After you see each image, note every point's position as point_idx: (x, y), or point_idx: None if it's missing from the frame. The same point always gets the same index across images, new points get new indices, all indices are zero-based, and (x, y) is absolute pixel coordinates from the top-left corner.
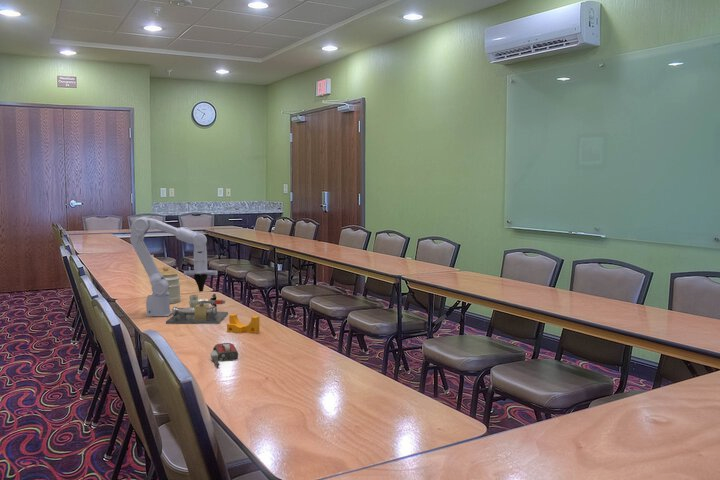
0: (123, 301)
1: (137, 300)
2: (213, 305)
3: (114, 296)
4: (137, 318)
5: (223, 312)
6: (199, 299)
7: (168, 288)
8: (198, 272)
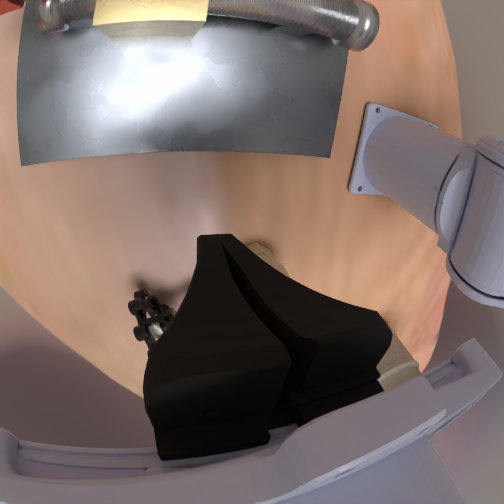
0: (434, 324)
1: (410, 340)
2: (157, 306)
3: (431, 352)
4: (453, 104)
5: (37, 140)
6: None
7: (380, 370)
8: (402, 429)
